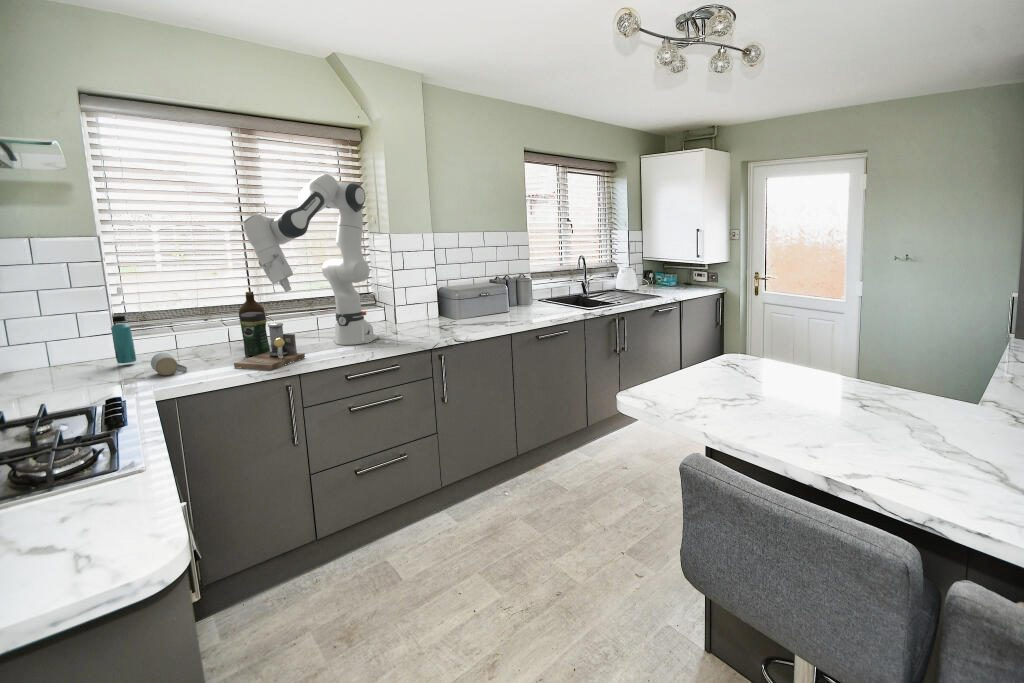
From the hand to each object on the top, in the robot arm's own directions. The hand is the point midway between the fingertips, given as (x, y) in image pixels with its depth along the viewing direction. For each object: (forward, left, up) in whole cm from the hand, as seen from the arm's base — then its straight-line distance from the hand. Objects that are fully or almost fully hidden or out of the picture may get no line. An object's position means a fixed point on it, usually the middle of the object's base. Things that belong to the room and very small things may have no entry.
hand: (288, 291), depth 202 cm
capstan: (-1, -8, -27) cm, 28 cm away
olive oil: (-26, -42, -29) cm, 57 cm away
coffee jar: (-11, -28, -29) cm, 42 cm away
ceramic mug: (+21, -39, -29) cm, 53 cm away
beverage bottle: (+15, -68, -29) cm, 75 cm away
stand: (-1, -13, -29) cm, 32 cm away
